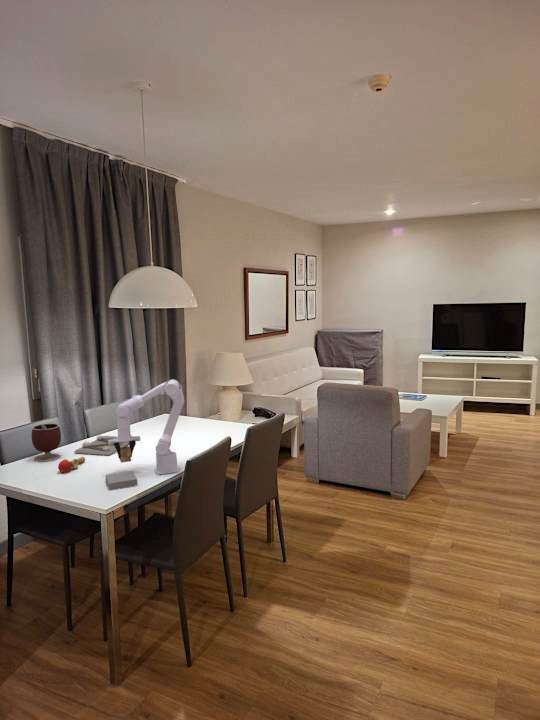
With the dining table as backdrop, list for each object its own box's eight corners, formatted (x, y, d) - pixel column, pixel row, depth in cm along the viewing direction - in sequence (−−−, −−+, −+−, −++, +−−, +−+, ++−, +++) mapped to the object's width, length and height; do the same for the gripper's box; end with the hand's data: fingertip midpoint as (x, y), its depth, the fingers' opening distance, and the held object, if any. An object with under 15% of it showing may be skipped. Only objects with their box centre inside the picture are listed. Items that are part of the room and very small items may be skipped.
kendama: (74, 464, 255) (52, 471, 237) (76, 452, 255) (55, 458, 237) (87, 468, 253) (67, 475, 236) (90, 456, 253) (69, 462, 236)
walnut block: (129, 458, 240) (128, 446, 239) (131, 461, 236) (130, 448, 235) (119, 459, 238) (119, 447, 237) (121, 462, 234) (120, 450, 233)
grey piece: (104, 439, 297) (103, 427, 296) (137, 441, 292) (136, 429, 291) (73, 454, 268) (72, 441, 267) (109, 457, 263) (108, 444, 262)
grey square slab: (132, 477, 232) (132, 470, 231) (137, 485, 221) (137, 479, 221) (105, 481, 227) (105, 474, 226) (109, 490, 216) (108, 483, 216)
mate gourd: (36, 455, 265) (33, 418, 263) (64, 453, 269) (61, 417, 266) (29, 465, 250) (27, 425, 248) (59, 462, 254) (57, 424, 251)
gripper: (138, 425, 241) (139, 452, 243) (106, 429, 235) (108, 457, 237) (140, 428, 235) (142, 456, 237) (108, 432, 229) (110, 461, 231)
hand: (125, 457), depth 236 cm, fingers closed on walnut block, 4 cm apart
